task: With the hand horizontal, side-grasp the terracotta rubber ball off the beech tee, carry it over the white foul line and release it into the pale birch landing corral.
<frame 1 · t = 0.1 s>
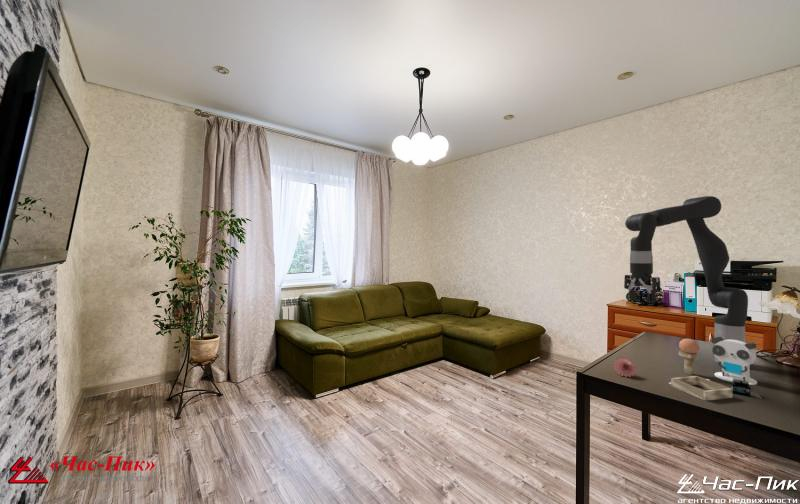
hand: (641, 301, 130), 29 cm above the table, tool pointing down, fingers open, 8 cm apart
ball: (688, 346, 127), point 11 cm above the table, touching tee
foul line: (689, 381, 120), on the table
flower: (625, 375, 127), on the table
corral: (700, 391, 111), on the table
black boxy piece: (740, 394, 110), on the table
tee: (689, 373, 127), on the table
panda figurine: (733, 378, 122), on the table
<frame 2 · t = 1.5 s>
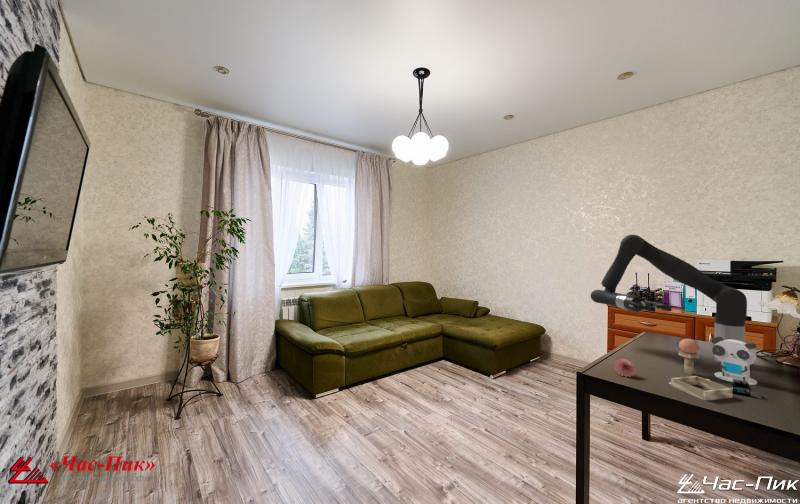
hand: (662, 309, 137), 24 cm above the table, tool horizontal, fingers open, 8 cm apart
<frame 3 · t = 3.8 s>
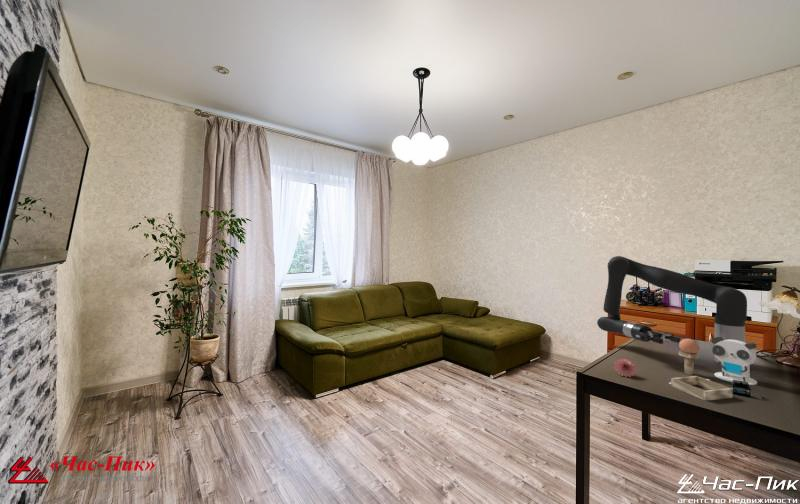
hand: (671, 341, 134), 11 cm above the table, tool horizontal, fingers open, 8 cm apart
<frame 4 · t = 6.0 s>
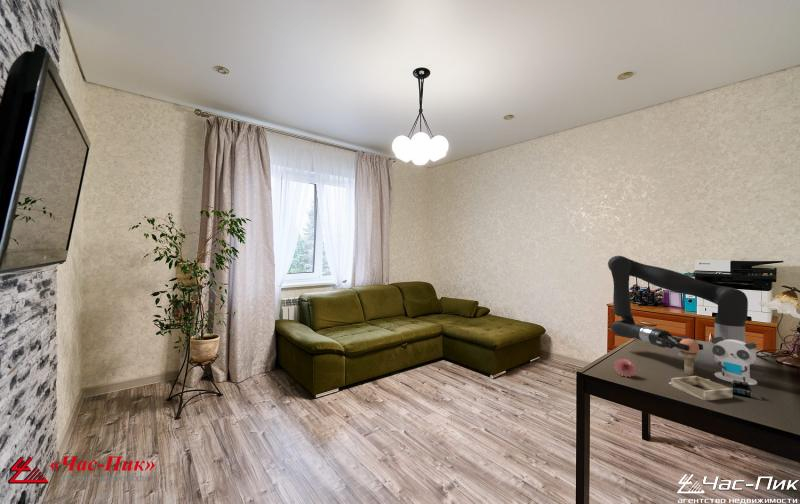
hand: (695, 347, 125), 11 cm above the table, tool horizontal, fingers closed on ball, 6 cm apart
ball: (688, 346, 127), point 11 cm above the table, touching gripper, tee
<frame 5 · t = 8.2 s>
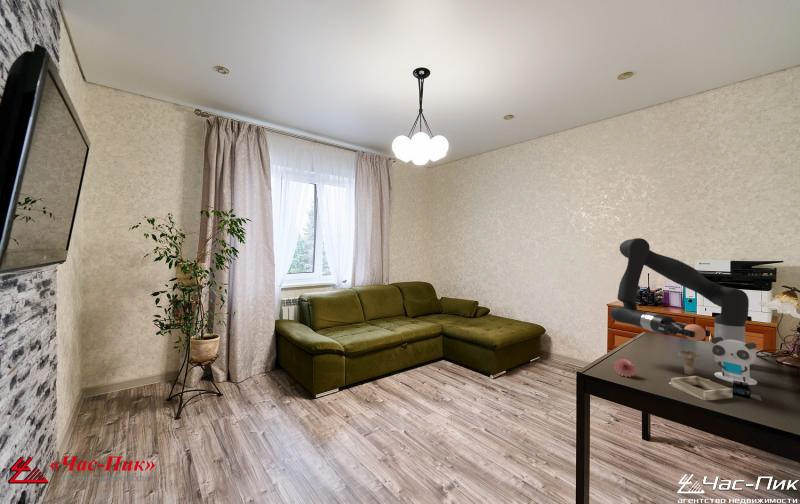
hand: (701, 334, 113), 20 cm above the table, tool horizontal, fingers closed on ball, 6 cm apart
ball: (694, 332, 115), point 20 cm above the table, touching gripper
when the fingers open (8 cm above the table, at t = 10.5 s): ball drops 5 cm, point 3 cm above the table.
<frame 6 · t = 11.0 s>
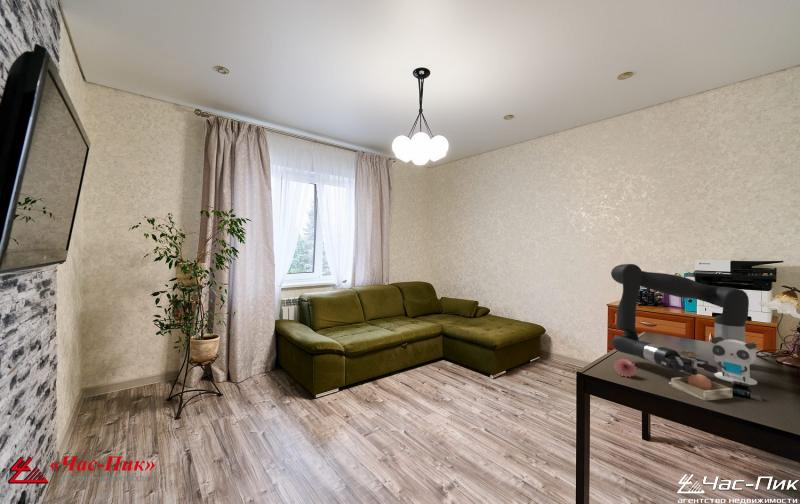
hand: (706, 371, 109), 8 cm above the table, tool horizontal, fingers open, 8 cm apart
ball: (699, 382, 112), point 3 cm above the table
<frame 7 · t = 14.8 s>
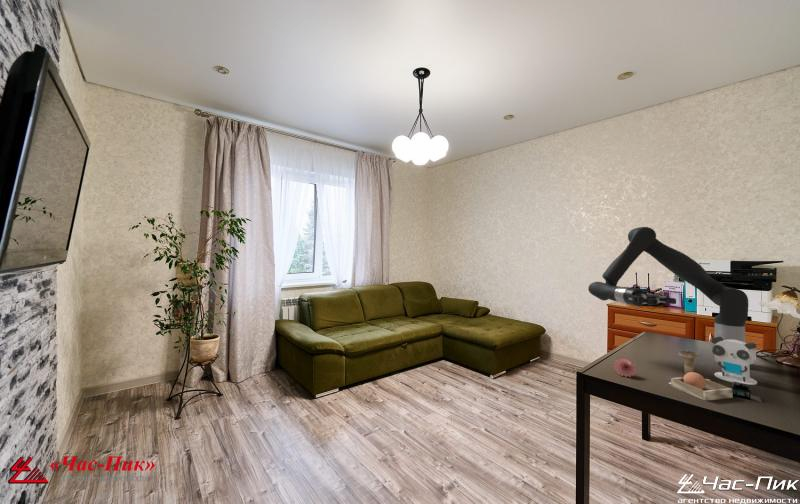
hand: (666, 301, 123), 30 cm above the table, tool horizontal, fingers open, 8 cm apart
ball: (694, 381, 113), point 3 cm above the table, tilted 35°
at the end: ball inside the target area on the corral (2.0 cm from its centre), point 3.0 cm above the corral's base; the gripper is holding nothing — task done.
